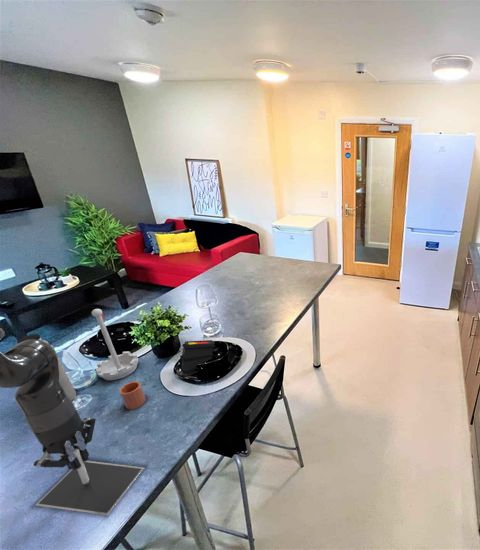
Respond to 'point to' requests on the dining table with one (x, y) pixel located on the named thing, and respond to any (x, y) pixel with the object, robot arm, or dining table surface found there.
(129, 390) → the pen cup
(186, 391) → the dining table surface
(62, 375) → the thermos bottle
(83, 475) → the stylus
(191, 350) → the striped top black block
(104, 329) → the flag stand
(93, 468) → the tablet
